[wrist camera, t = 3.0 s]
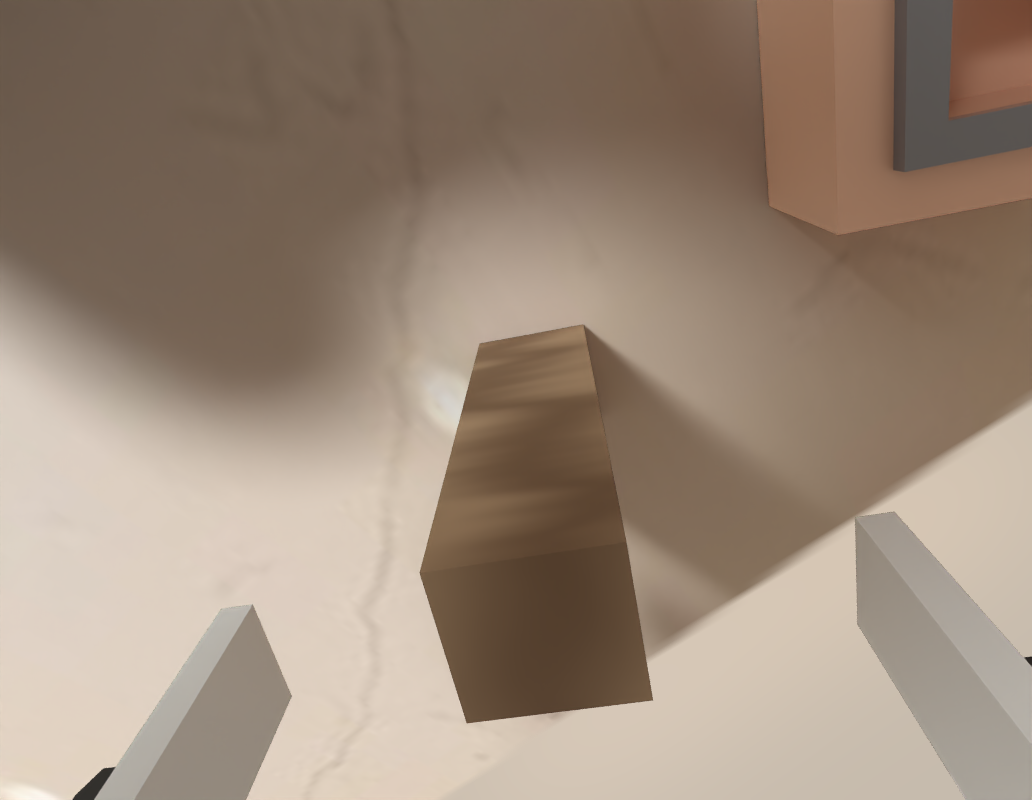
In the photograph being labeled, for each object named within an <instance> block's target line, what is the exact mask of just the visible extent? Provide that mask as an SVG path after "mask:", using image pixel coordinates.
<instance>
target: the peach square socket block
mask: <svg viewBox="0 0 1032 800" xmlns="http://www.w3.org/2000/svg"><path fill="white" fill-rule="evenodd" d="M757 14H758V31H759V48H760V65H761V82H762V98H763V115H764V132H765V149H766V166H767V182H768V199H769V206H770V207H772V208H775V209H777V210H779V211H782V212H784V213H787V214H789V215H791V216H794V217H796V218H798V219H801V220H803V221H805V222H808V223H810V224H812V225H815V226H817V227H820V228H822V229H824V230H827V231H829V232H831V233H834V234H836V235H843V234H848V233H853V232H858V231H864V230H869V229H874V228H879V227H884V226H890V225H895V224H900V223H905V222H911V221H916V220H921V219H926V218H931V217H937V216H942V215H947V214H952V213H957V212H963V211H968V210H973V209H978V208H984V207H989V206H994V205H999V204H1004V203H1010V202H1015V201H1020V200H1025V199H1030V198H1032V0H757Z"/></svg>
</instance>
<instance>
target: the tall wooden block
mask: <svg viewBox="0 0 1032 800" xmlns="http://www.w3.org/2000/svg"><path fill="white" fill-rule="evenodd" d="M420 576H421V579H422V582H423V585H424V588H425V592H426V595H427V598H428V601H429V604H430V608H431V611H432V614H433V617H434V620H435V623H436V627H437V630H438V633H439V636H440V639H441V643H442V646H443V649H444V652H445V655H446V659H447V662H448V665H449V668H450V671H451V675H452V678H453V681H454V684H455V687H456V690H457V694H458V697H459V700H460V703H461V706H462V710H463V713H464V716H465V719H466V722H467V723H473V722H481V721H489V720H497V719H506V718H514V717H522V716H530V715H538V714H546V713H554V712H562V711H570V710H578V709H587V708H594V707H603V706H611V705H619V704H627V703H635V702H643V701H651V700H653V697H652V691H651V685H650V680H649V674H648V668H647V662H646V656H645V650H644V644H643V638H642V632H641V626H640V620H639V614H638V608H637V602H636V596H635V591H634V585H633V579H632V573H631V567H630V561H629V555H628V549H627V543H626V538H625V533H624V528H623V523H622V518H621V513H620V507H619V502H618V497H617V492H616V487H615V482H614V477H613V472H612V467H611V462H610V457H609V452H608V447H607V442H606V437H605V432H604V427H603V421H602V416H601V411H600V406H599V401H598V396H597V391H596V386H595V381H594V376H593V371H592V366H591V361H590V356H589V351H588V346H587V341H586V335H585V330H584V325H578V326H573V327H568V328H562V329H557V330H551V331H546V332H541V333H535V334H530V335H524V336H519V337H514V338H508V339H503V340H497V341H492V342H487V343H481V344H479V348H478V352H477V356H476V359H475V363H474V367H473V371H472V375H471V378H470V382H469V386H468V390H467V394H466V398H465V401H464V405H463V409H462V413H461V417H460V421H459V424H458V428H457V432H456V436H455V440H454V443H453V447H452V451H451V455H450V459H449V463H448V466H447V470H446V474H445V478H444V482H443V486H442V489H441V493H440V497H439V501H438V505H437V508H436V512H435V516H434V520H433V524H432V528H431V531H430V535H429V539H428V543H427V547H426V551H425V554H424V558H423V562H422V566H421V570H420Z"/></svg>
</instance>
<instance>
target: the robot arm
mask: <svg viewBox="0 0 1032 800" xmlns="http://www.w3.org/2000/svg"><path fill="white" fill-rule="evenodd" d="M855 532H856V574H857V575H856V577H857V619H858V620H857V622H858V626H859V627H860V629H861V631H862V632H863V634H864V636H865V637H866V639H867V640H868V642H869V644H870V645H871V647H872V648H873V650H874V652H875V653H876V655H877V657H878V658H879V660H880V662H881V663H882V665H883V666H884V668H885V670H886V671H887V673H888V674H889V676H890V678H891V679H892V681H893V683H894V684H895V686H896V687H897V689H898V691H899V692H900V694H901V696H902V697H903V699H904V701H905V702H906V704H907V705H908V707H909V709H910V710H911V712H912V714H913V715H914V717H915V718H916V720H917V721H918V723H919V725H920V727H921V728H922V729H923V731H924V733H925V735H926V736H927V738H928V740H929V741H930V743H931V744H932V746H933V748H934V749H935V751H936V752H937V754H938V756H939V757H940V759H941V761H942V762H943V764H944V766H945V767H946V769H947V770H948V772H949V774H950V775H951V777H952V778H953V780H954V782H955V783H956V785H957V787H958V788H959V790H960V791H961V793H962V795H963V796H964V798H965V800H1032V657H1025V658H1024V657H1023V656H1022V655H1021V654H1020V653H1019V652H1018V651H1017V649H1016V648H1015V647H1014V646H1013V645H1012V644H1011V643H1010V642H1009V640H1008V639H1007V638H1006V637H1005V636H1004V635H1003V634H1002V633H1001V631H1000V630H999V629H998V628H997V627H996V626H995V625H994V624H993V623H992V621H991V620H990V619H989V618H988V617H987V616H986V615H985V613H983V611H982V610H981V609H980V608H979V607H978V605H977V604H976V603H975V602H974V601H973V600H972V599H971V598H970V596H969V595H968V594H967V593H966V592H965V591H964V590H963V589H962V587H961V586H960V585H959V584H958V583H957V582H956V581H955V580H954V579H953V578H952V576H951V575H950V574H949V573H948V572H947V571H946V569H945V568H944V567H943V566H942V565H941V564H940V563H939V561H938V560H937V559H936V558H935V557H934V556H933V555H932V554H931V552H930V551H929V550H928V549H927V548H926V547H925V546H924V545H923V543H922V542H921V541H920V540H919V539H918V538H917V537H916V536H915V535H914V533H913V532H912V531H911V530H910V529H909V528H908V526H906V524H905V523H904V522H903V521H902V520H901V519H900V517H899V516H898V515H897V514H896V513H895V512H889V513H882V514H875V515H868V516H861V517H855ZM291 697H292V696H291V693H290V691H289V689H288V686H287V684H286V682H285V679H284V677H283V675H282V672H281V670H280V668H279V665H278V663H277V660H276V658H275V656H274V653H273V651H272V649H271V646H270V644H269V642H268V639H267V637H266V635H265V632H264V630H263V628H262V625H261V623H260V620H259V618H258V616H257V613H256V611H255V609H254V606H253V604H252V605H245V606H238V607H231V608H224V609H221V610H220V611H219V613H218V614H217V616H216V617H215V619H214V620H213V622H212V623H211V625H210V626H209V628H208V629H207V631H206V632H205V634H204V635H203V637H202V638H201V640H200V641H199V643H198V644H197V646H196V647H195V649H194V650H193V652H192V653H191V655H190V656H189V658H188V659H187V661H186V662H185V664H184V665H183V667H182V668H181V670H180V671H179V673H178V674H177V676H176V677H175V679H174V680H173V682H172V683H171V685H170V686H169V688H168V689H167V691H166V692H165V694H164V695H163V697H162V698H161V700H160V701H159V703H158V704H157V706H156V707H155V709H154V710H153V712H152V713H151V715H150V716H149V718H148V719H147V721H146V722H145V724H144V725H143V727H142V728H141V730H140V731H139V733H138V734H137V736H136V737H135V739H134V740H133V742H132V743H131V745H130V746H129V748H128V749H127V751H126V753H125V754H124V756H123V757H122V759H121V760H120V762H119V763H118V765H117V766H116V767H112V768H104V769H102V770H101V771H100V772H99V773H98V774H97V775H96V776H95V777H94V778H93V779H92V780H91V781H90V782H89V783H88V784H87V785H86V786H85V787H83V788H82V789H81V790H80V791H79V792H78V793H77V794H76V795H75V797H74V798H73V800H246V798H247V796H248V794H249V792H250V789H251V787H252V785H253V783H254V780H255V778H256V776H257V773H258V771H259V769H260V767H261V764H262V762H263V760H264V758H265V755H266V753H267V751H268V749H269V746H270V744H271V742H272V740H273V737H274V735H275V733H276V731H277V728H278V726H279V724H280V722H281V719H282V717H283V715H284V713H285V710H286V708H287V706H288V703H289V701H290V699H291Z"/></svg>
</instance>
